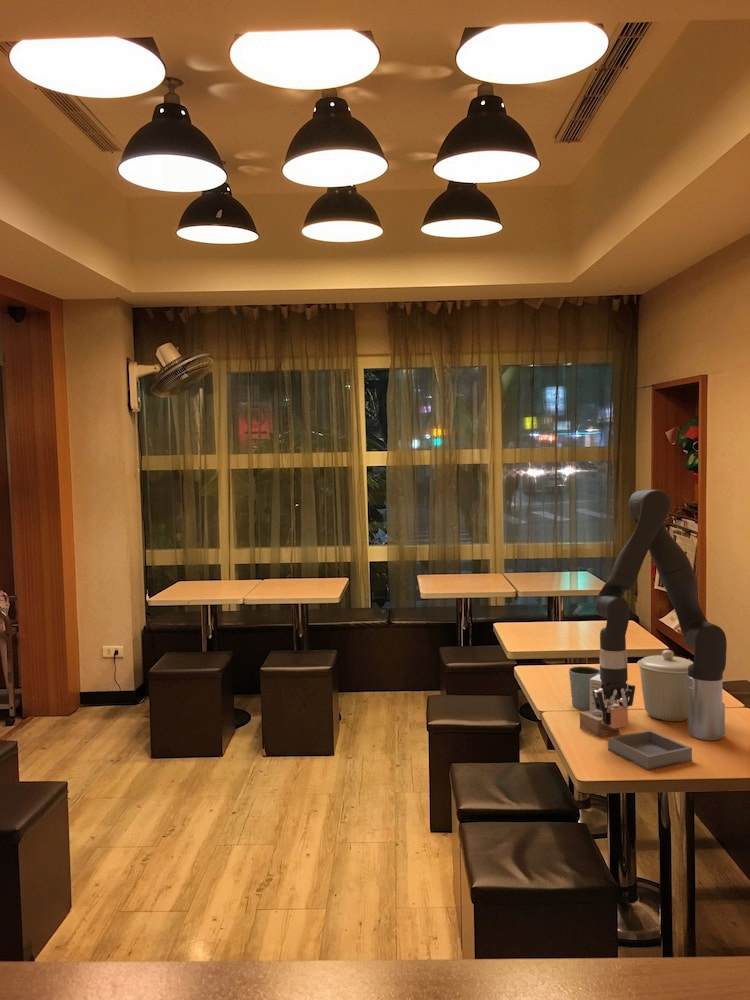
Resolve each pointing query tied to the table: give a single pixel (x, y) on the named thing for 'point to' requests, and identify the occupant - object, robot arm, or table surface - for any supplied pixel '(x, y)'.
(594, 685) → the supplement box
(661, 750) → the charcoal tray
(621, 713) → the terracotta block
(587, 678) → the teal cup
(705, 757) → the table surface
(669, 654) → the canister
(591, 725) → the walnut block
